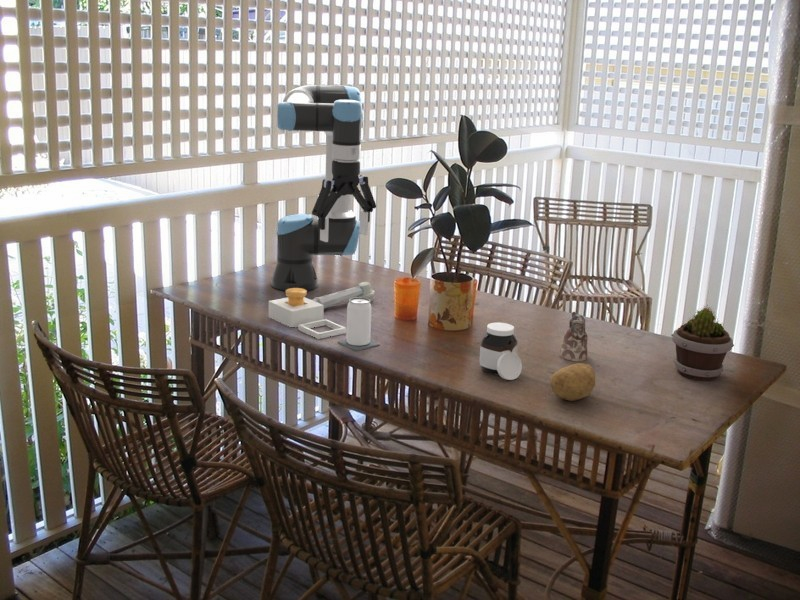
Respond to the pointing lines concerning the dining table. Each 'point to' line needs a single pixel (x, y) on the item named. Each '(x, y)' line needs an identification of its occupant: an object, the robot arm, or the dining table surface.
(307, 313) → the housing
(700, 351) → the flowerpot
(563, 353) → the figurine
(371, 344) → the mat
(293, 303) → the plunger
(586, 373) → the potato
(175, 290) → the dining table surface
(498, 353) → the spread jar
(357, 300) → the can
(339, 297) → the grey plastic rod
